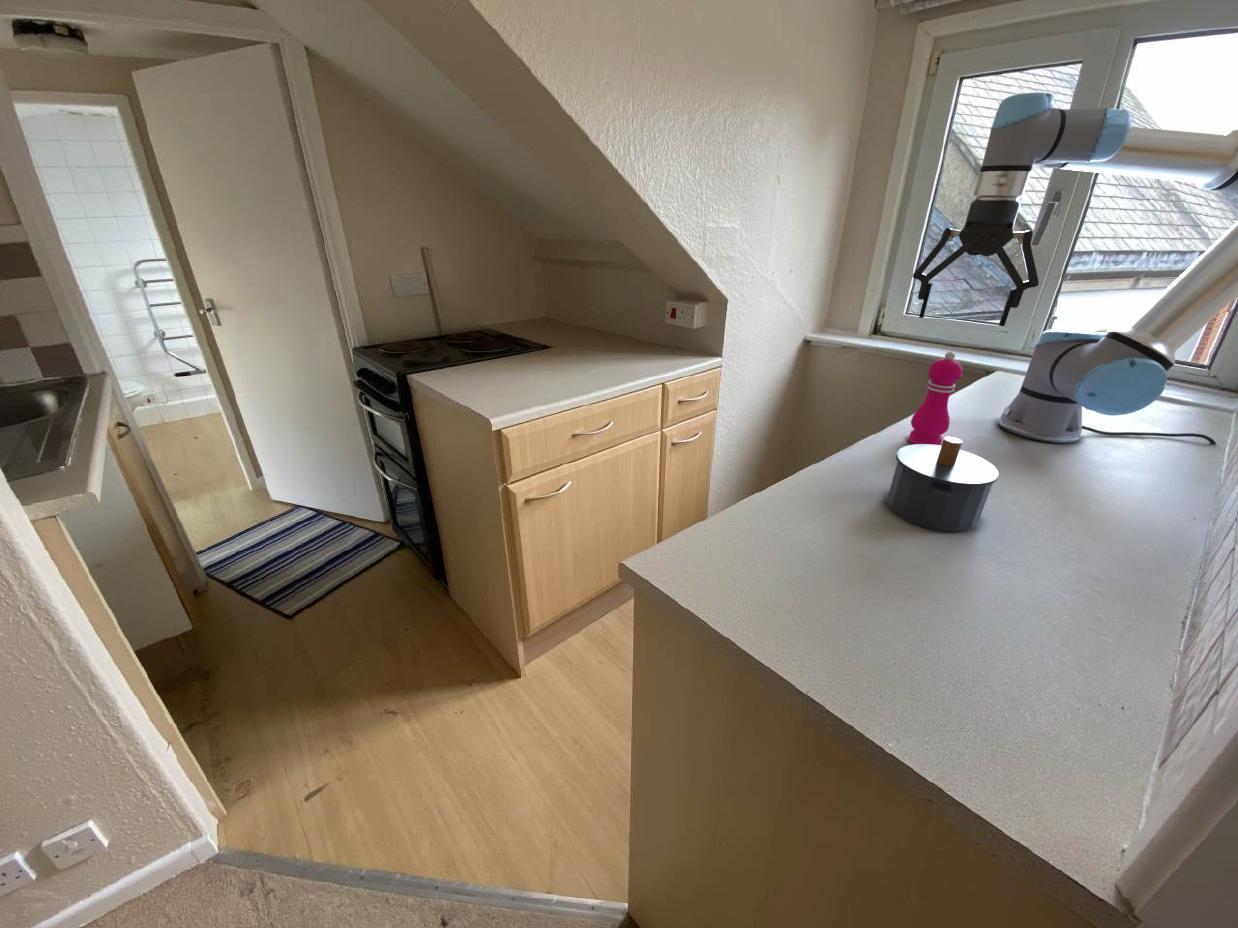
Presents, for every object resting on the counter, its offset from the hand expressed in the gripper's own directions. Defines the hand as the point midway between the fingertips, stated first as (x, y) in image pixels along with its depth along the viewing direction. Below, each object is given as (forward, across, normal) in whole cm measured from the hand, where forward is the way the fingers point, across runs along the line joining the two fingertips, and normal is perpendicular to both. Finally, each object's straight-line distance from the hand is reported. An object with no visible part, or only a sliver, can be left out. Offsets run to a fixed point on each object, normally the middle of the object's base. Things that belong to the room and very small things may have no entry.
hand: (960, 321), depth 103 cm
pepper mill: (+27, 0, +1) cm, 27 cm away
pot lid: (+18, +3, -31) cm, 36 cm away
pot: (+26, +3, -31) cm, 41 cm away
